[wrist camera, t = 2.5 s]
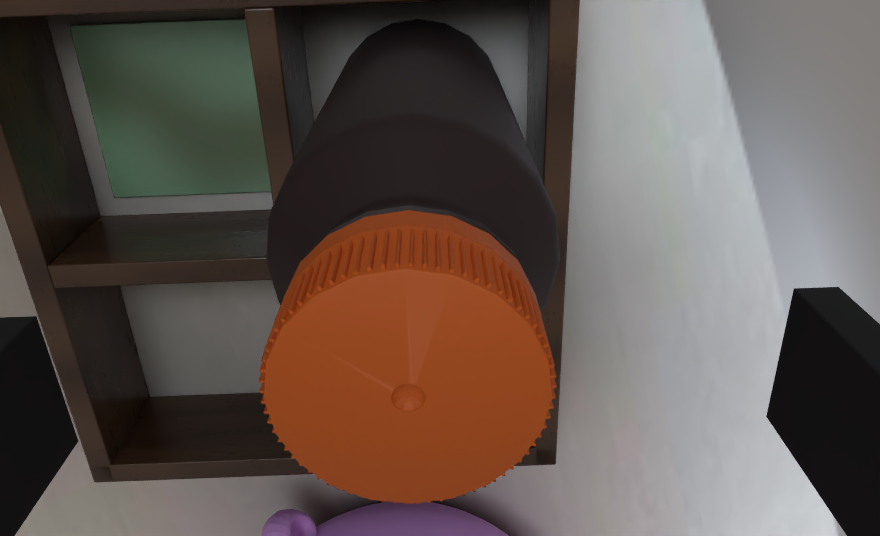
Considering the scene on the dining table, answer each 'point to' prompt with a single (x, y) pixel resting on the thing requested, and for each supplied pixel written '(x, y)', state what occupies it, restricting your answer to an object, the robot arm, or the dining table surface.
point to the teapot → (384, 522)
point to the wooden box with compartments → (185, 173)
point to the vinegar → (411, 277)
